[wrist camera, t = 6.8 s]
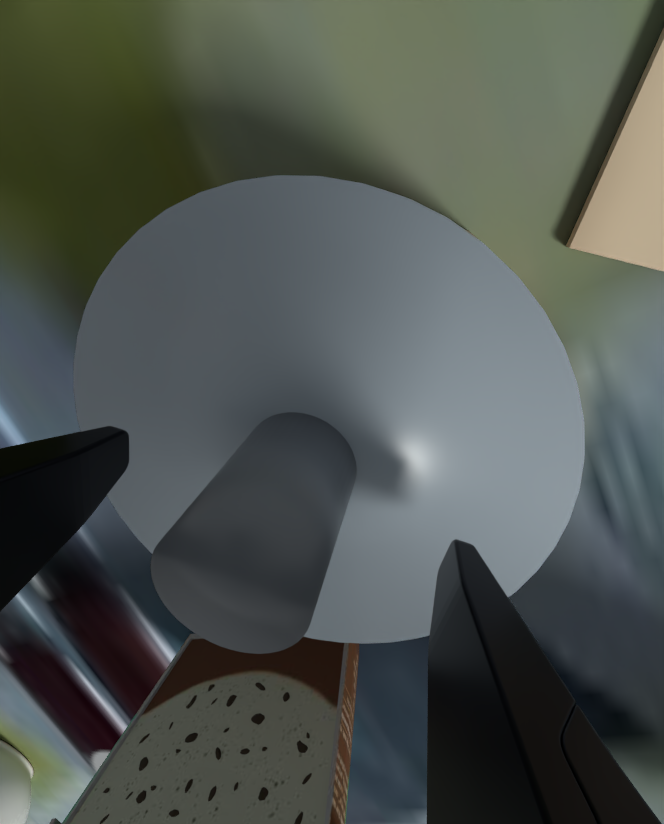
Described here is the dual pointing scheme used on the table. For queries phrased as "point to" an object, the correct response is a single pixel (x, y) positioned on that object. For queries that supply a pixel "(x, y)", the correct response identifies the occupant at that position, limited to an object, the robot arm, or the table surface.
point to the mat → (631, 181)
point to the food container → (234, 741)
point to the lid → (325, 410)
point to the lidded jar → (14, 785)
